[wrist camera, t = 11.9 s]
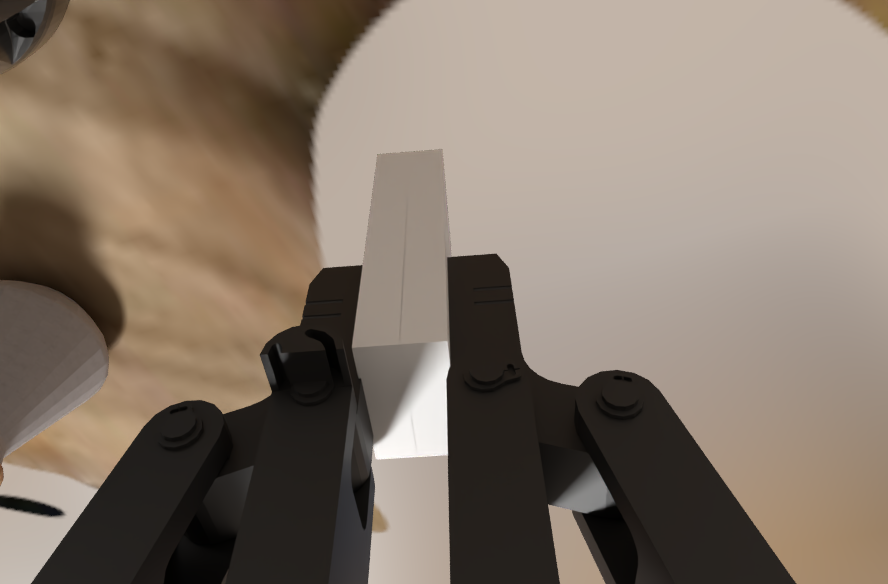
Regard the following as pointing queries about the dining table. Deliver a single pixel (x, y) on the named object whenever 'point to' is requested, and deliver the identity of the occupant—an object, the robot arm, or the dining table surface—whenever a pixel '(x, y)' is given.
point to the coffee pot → (44, 361)
